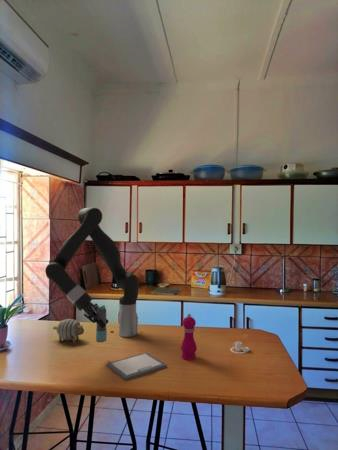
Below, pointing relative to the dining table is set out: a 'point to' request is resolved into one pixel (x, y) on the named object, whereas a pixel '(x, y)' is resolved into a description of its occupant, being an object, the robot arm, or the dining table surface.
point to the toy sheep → (69, 330)
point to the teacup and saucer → (239, 348)
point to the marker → (100, 332)
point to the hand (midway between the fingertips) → (105, 324)
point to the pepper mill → (188, 339)
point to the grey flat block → (136, 366)
